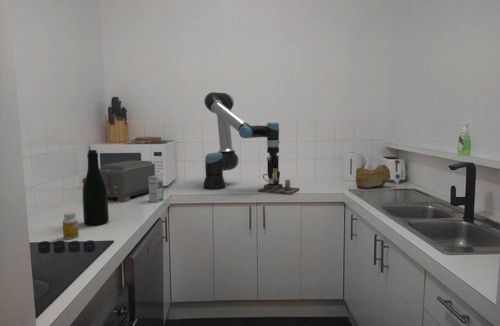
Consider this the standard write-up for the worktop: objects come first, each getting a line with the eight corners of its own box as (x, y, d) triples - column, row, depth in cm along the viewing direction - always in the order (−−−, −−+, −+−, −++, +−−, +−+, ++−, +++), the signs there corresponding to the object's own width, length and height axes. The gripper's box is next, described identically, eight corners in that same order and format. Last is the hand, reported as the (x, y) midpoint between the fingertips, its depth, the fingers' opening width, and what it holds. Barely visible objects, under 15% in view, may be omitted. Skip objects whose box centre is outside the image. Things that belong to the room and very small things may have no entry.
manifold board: (258, 192, 234) (257, 180, 233) (268, 187, 248) (268, 176, 247) (290, 194, 224) (290, 182, 223) (299, 190, 238) (299, 178, 237)
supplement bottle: (60, 238, 144) (58, 214, 143) (71, 234, 149) (70, 211, 148) (70, 240, 142) (69, 215, 141) (81, 236, 147) (80, 212, 146)
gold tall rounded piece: (267, 184, 236) (267, 168, 235) (271, 182, 241) (270, 167, 240) (275, 184, 234) (275, 169, 233) (278, 183, 238) (278, 168, 237)
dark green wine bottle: (96, 218, 172) (92, 148, 169) (114, 221, 168) (110, 149, 165) (78, 224, 163) (73, 150, 159) (96, 227, 159) (92, 151, 155)
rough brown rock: (381, 185, 259) (380, 164, 258) (393, 187, 242) (392, 164, 242) (349, 187, 256) (348, 165, 256) (359, 189, 240) (358, 166, 239)
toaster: (93, 201, 211) (91, 166, 209) (132, 190, 244) (131, 159, 241) (121, 203, 204) (119, 167, 202) (157, 192, 237) (156, 160, 235)
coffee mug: (280, 184, 259) (280, 170, 258) (280, 187, 251) (280, 172, 250) (263, 184, 260) (263, 170, 259) (263, 186, 252) (262, 172, 251)
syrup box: (157, 202, 206) (157, 176, 204) (149, 201, 208) (148, 176, 206) (163, 200, 211) (162, 175, 210) (155, 199, 213) (154, 175, 212)
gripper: (272, 147, 225) (272, 185, 228) (283, 146, 241) (283, 181, 243) (261, 147, 228) (261, 184, 231) (273, 145, 244) (273, 180, 247)
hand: (273, 182), depth 237 cm, fingers closed on gold tall rounded piece, 5 cm apart
